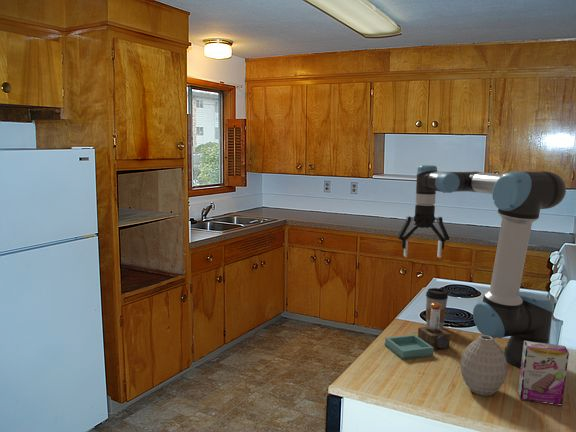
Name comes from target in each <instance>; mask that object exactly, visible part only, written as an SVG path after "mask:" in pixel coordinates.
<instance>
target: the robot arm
mask: <svg viewBox="0 0 576 432" xmlns="http://www.w3.org/2000/svg"><path fill="white" fill-rule="evenodd" d="M415 185H416V187H415V190H416V191H415V207H414V208H415V209H414V216H409V215H407V216H406V219H405V222H404V223H403V226H402V227H401V230H399V233H398V235H397V239H398V240H401V248H402V249H403V257H404V258H408V249H409V248H408V247H409V246H408V245H409V241H408V239H409V238H410V236H411V235H413V233H414V232H415V231H416V230H418V229H419V228H420V229H424V228H426V229H429V228H430V229H431V230H432V231H433V233H434V234H435V236H437V237H438V239H439V240H437V251H436V253H437V255H436V256H437V258H439V259H441V258H442V250H444V249H445V242H446V241H449V240H450V236H449V234H448V232H447V229H446V227H445V225H444V221H443V217H442V216H440V215H439V216H435V209H436V206H435V204H436V194H437V193H436V192H439V193H441V192H442V193H444V194H445V193H446V194H451V193H457V192H471V193H480V194H488V195H491V196H492V200H493V205H494V206H495V207H496V208H497V214H498V215H499V216H500V217H501V221H500V222H501V223H500V229H499V235H498V239H497V245H496V246H497V247H496V252H495V259H494V263H493V267H492V275H491V281H490V282H491V283H490V287H489V289H487V290H485V291H484V293H483V298H482V301H479V302H477V303H476V304H475V305H474V307H473V310H472V318H473V322H474V324H475V326H476V328H477V330H478V332H480V334H481V335H488V336H491V337H492V338H493V339H502V338H507V337H509V339H508V341H507V344H506V346H505V347H504V350H503V353H504V355H505V358H506V361H507V363H509V364H510V365H513V366H514V367H517V368H520V369H521V361H522V353H523V344H524V341H531V342H538V343H546V344H550V337H551V336H550V335H551V328H552V320H553V319H552V318H553V313H554V310H553V305H554V304H553V302H552V299H550V298H548V297H546V296H543V295H541V294H538V293H532V292H527V291H520V290H521V284H522V279H523V275H524V274H523V273H524V268H525V262H526V257H527V251H528V247H529V243H530V242H529V241H530V235H531V231H532V226H533V223H534V222H536V221H537V220H539V217H540V212H541V210H545V209H547V210H548V209H552V208H554V207H556V206H558V205H559V204H560V203H562V201H563V200H564V198H565V196H566V193H567V192H566V191H567V186H566V182H565V181H564V179H563V178H562V177H561V176H560V175H558V174H557V173H555V172H552V171H543V170H542V171H537V170H536V171H530V170H529V171H526V170H525V171H524V170H523V171H522V170H515V171H511V172H510V171H509V172H506V173H492V172H482V171H438V166H436V165H433V164H432V165H429V164H428V165H427V164H425V165H424V164H423V165H422V164H421V165H418V167H417V173H416V184H415ZM413 221H414V223H413V224H412V226H411V227H410V224H411V223H412V222H413ZM435 221H436V222H437V224H438V226H439V228H440V231H439V230H438V229H437V227H436V226H435V225H434V223H435ZM409 227H410V229H409V230H408V228H409ZM406 231H407V232H406ZM440 232H441V233H442V234H441V233H440Z"/></svg>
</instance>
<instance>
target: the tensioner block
mask: <svg viewBox="0 0 576 432" xmlns="http://www.w3.org/2000/svg"><path fill="white" fill-rule="evenodd" d="M417 330H418V331H417V336H418V337H419V338H421V339H422V340H423V341H425V342H426V343H428V344H429V345H431V346H432V347H434V350H435V349H444V348H450V344H451V343H450V341H451V333H450V332H449V331H446V330H445V329H444V328H440V327H439V333H434V334H432V333H430V332H429V331H430V327H427V326H424V327H418V328H417Z"/></svg>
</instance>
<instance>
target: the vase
mask: <svg viewBox="0 0 576 432" xmlns="http://www.w3.org/2000/svg"><path fill="white" fill-rule="evenodd" d="M494 339H495V338H492V337H491V336H488V335H483V334H481V335H479V336H478V338H476V339H474V340H473V341H472V342H471V343H469V344H468V345H467V347H466V348H465V350H463V353H462V355H461V359H460V372H461V376H462V379H463V381H464V383H465V384H466V386H467V387H468V389H469V390H470V391H471V392H472V393H474V394H476V395H480V396H482V397H484V396H491V395H493V394H495V393H496V392H498V391H499V389H501V387H503V385H504V384H505V381H506V379H507V375H508V362H507V361H506V358H505V355H504V350H503V349H502V348H501V347H500V345H499V344H498V343H497V342H496V341H495V340H494Z"/></svg>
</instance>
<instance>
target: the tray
mask: <svg viewBox="0 0 576 432" xmlns="http://www.w3.org/2000/svg"><path fill="white" fill-rule="evenodd" d="M384 340H385V341H384V342H385V343H384V346H385V348H387V349H388V350H389V351H391V352H392V353H393V354H394V355H396V356H397V357H398V358H400V359H401V361H402V360H404V361H405V360H411V359H413V360H414V359H420V358H427V357H434V351H435V349H434V347H432V346H431V345H429V344H428V343H426V342H425V341H423V340H422V339H421V338H419V337H418V335H416V334H407V335H399V336H398V335H397V336H390V337H385V339H384Z"/></svg>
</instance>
